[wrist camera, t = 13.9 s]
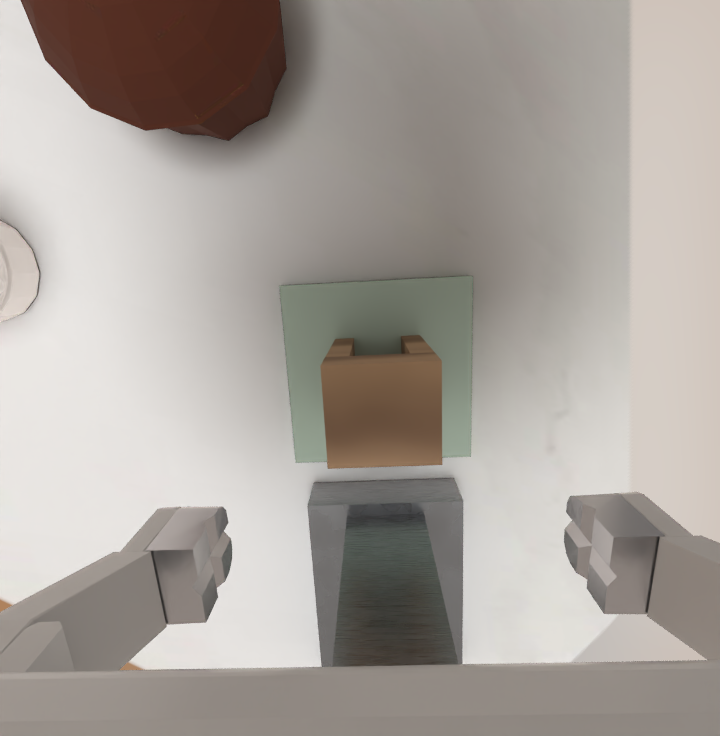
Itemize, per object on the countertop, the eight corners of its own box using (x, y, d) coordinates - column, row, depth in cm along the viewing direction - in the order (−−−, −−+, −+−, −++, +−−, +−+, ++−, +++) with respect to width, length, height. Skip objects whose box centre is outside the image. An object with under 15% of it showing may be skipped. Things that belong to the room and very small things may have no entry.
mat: (281, 285, 26) (279, 285, 25) (469, 275, 25) (472, 275, 25) (297, 457, 28) (295, 462, 28) (468, 451, 28) (470, 456, 27)
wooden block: (335, 338, 26) (320, 365, 18) (420, 335, 26) (441, 360, 18) (340, 412, 27) (327, 468, 19) (421, 409, 27) (442, 464, 19)
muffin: (114, -81, 22) (-93, -370, 12) (316, -51, 22) (273, -315, 12) (114, 156, 24) (-57, 75, 15) (294, 182, 24) (244, 118, 15)
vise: (314, 482, 29) (256, 694, 14) (453, 478, 29) (541, 689, 14) (328, 663, 32) (295, 981, 18) (453, 661, 32) (523, 983, 17)
